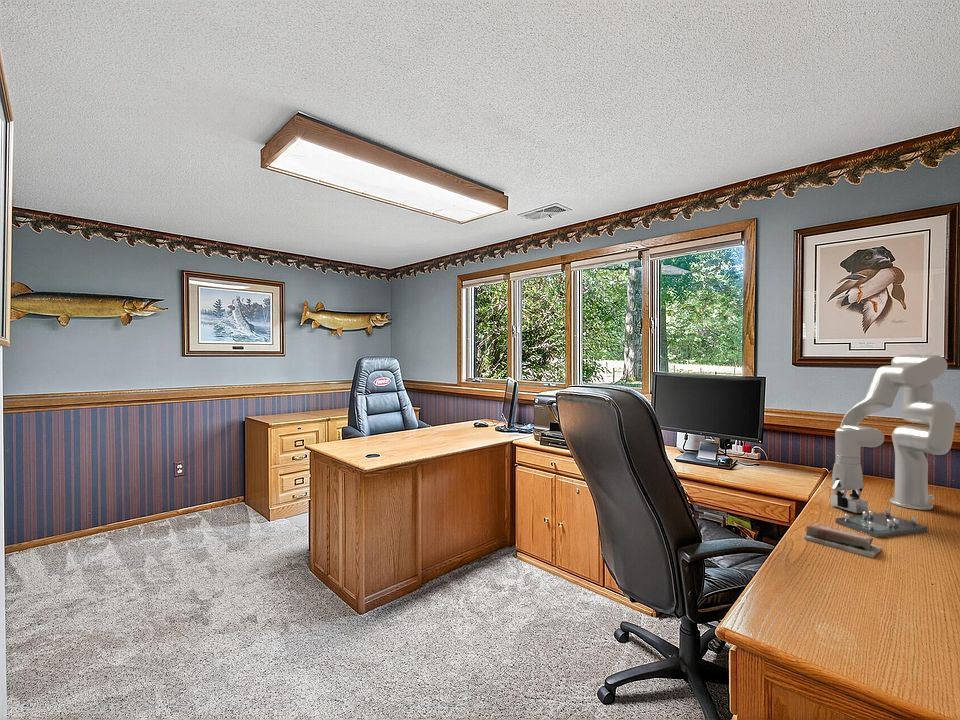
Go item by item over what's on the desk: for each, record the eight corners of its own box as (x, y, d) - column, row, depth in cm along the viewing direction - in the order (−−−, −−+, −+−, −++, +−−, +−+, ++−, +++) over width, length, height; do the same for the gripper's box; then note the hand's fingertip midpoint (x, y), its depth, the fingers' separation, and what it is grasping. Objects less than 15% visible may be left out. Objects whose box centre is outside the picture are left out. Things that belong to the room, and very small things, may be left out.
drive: (841, 503, 182) (841, 493, 182) (867, 511, 172) (867, 500, 172) (830, 504, 181) (830, 494, 180) (856, 513, 171) (856, 502, 171)
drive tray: (882, 516, 169) (882, 506, 169) (927, 531, 155) (927, 519, 155) (835, 522, 163) (835, 511, 163) (877, 538, 150) (877, 525, 150)
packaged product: (802, 525, 150) (813, 519, 156) (802, 540, 150) (813, 533, 156) (873, 543, 135) (882, 535, 141) (873, 559, 135) (882, 550, 141)
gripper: (855, 455, 182) (855, 500, 182) (820, 459, 178) (821, 505, 178) (875, 460, 174) (875, 506, 175) (840, 464, 170) (840, 512, 171)
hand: (848, 505), depth 176 cm, fingers closed on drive, 5 cm apart
